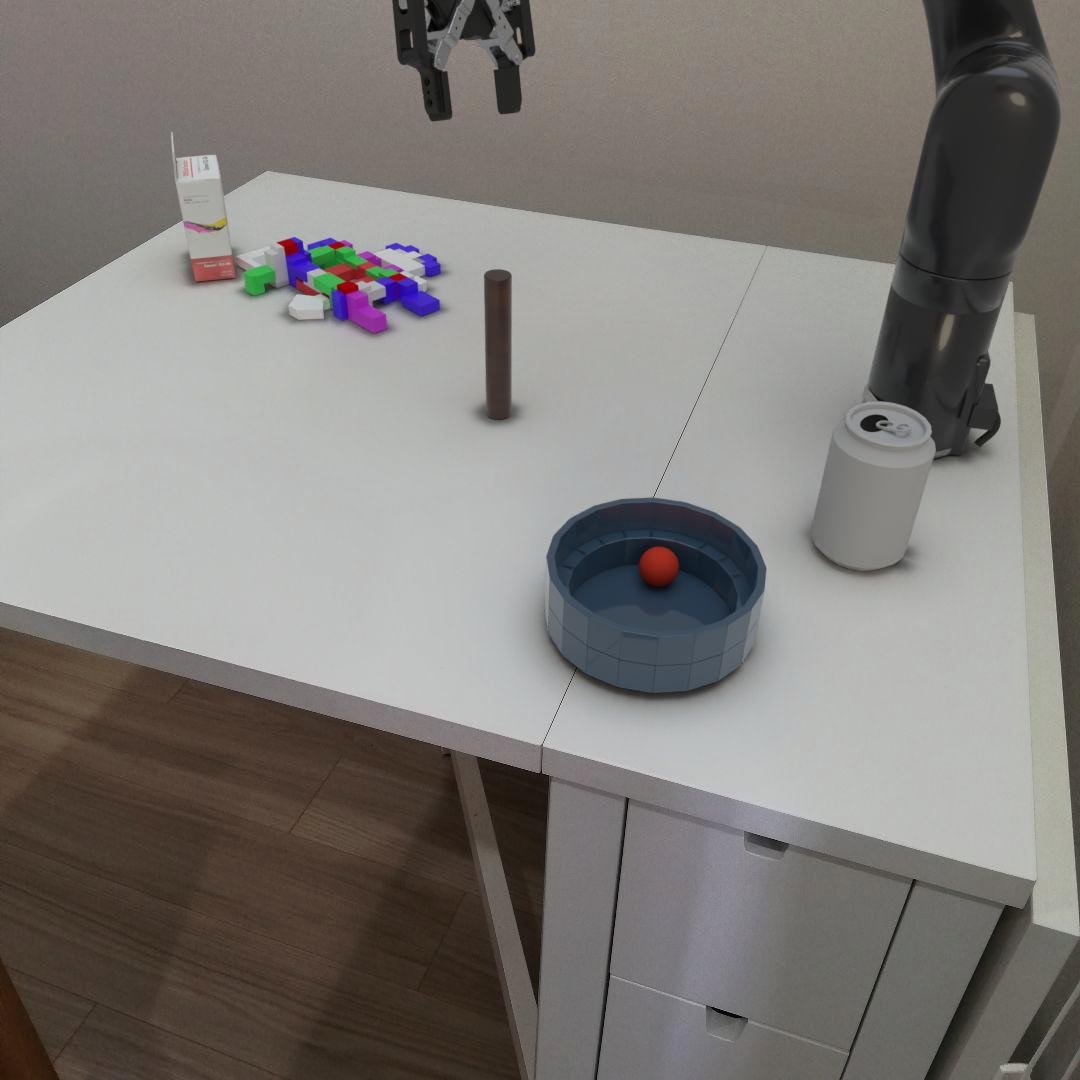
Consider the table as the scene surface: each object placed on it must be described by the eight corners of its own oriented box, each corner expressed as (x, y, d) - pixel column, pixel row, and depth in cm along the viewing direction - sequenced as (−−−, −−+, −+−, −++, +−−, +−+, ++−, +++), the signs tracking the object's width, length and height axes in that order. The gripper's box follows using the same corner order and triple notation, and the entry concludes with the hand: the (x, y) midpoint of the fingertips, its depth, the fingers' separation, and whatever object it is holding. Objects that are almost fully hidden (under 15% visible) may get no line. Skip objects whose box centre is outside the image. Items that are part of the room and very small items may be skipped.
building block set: (487, 291, 121) (486, 254, 119) (338, 347, 110) (334, 308, 107) (358, 227, 135) (355, 193, 133) (215, 272, 124) (208, 235, 121)
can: (835, 508, 89) (864, 384, 82) (919, 544, 86) (958, 417, 78) (791, 550, 85) (818, 422, 77) (878, 590, 81) (916, 460, 74)
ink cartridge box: (238, 278, 123) (217, 150, 114) (194, 283, 122) (169, 154, 113) (232, 250, 129) (211, 126, 120) (190, 254, 128) (166, 129, 119)
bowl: (759, 575, 82) (771, 513, 78) (746, 718, 70) (759, 653, 67) (567, 546, 85) (570, 485, 81) (524, 679, 73) (525, 615, 69)
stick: (514, 408, 101) (514, 270, 93) (508, 421, 99) (507, 281, 91) (489, 405, 102) (488, 267, 93) (483, 418, 100) (480, 278, 91)
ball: (679, 572, 81) (683, 541, 79) (674, 597, 79) (678, 566, 77) (640, 566, 82) (643, 536, 80) (634, 591, 79) (637, 560, 77)
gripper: (419, -115, 78) (448, 120, 84) (545, -103, 88) (562, 108, 94) (354, -95, 83) (386, 126, 89) (480, -85, 92) (501, 114, 99)
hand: (476, 117), depth 91 cm, fingers open, 8 cm apart
